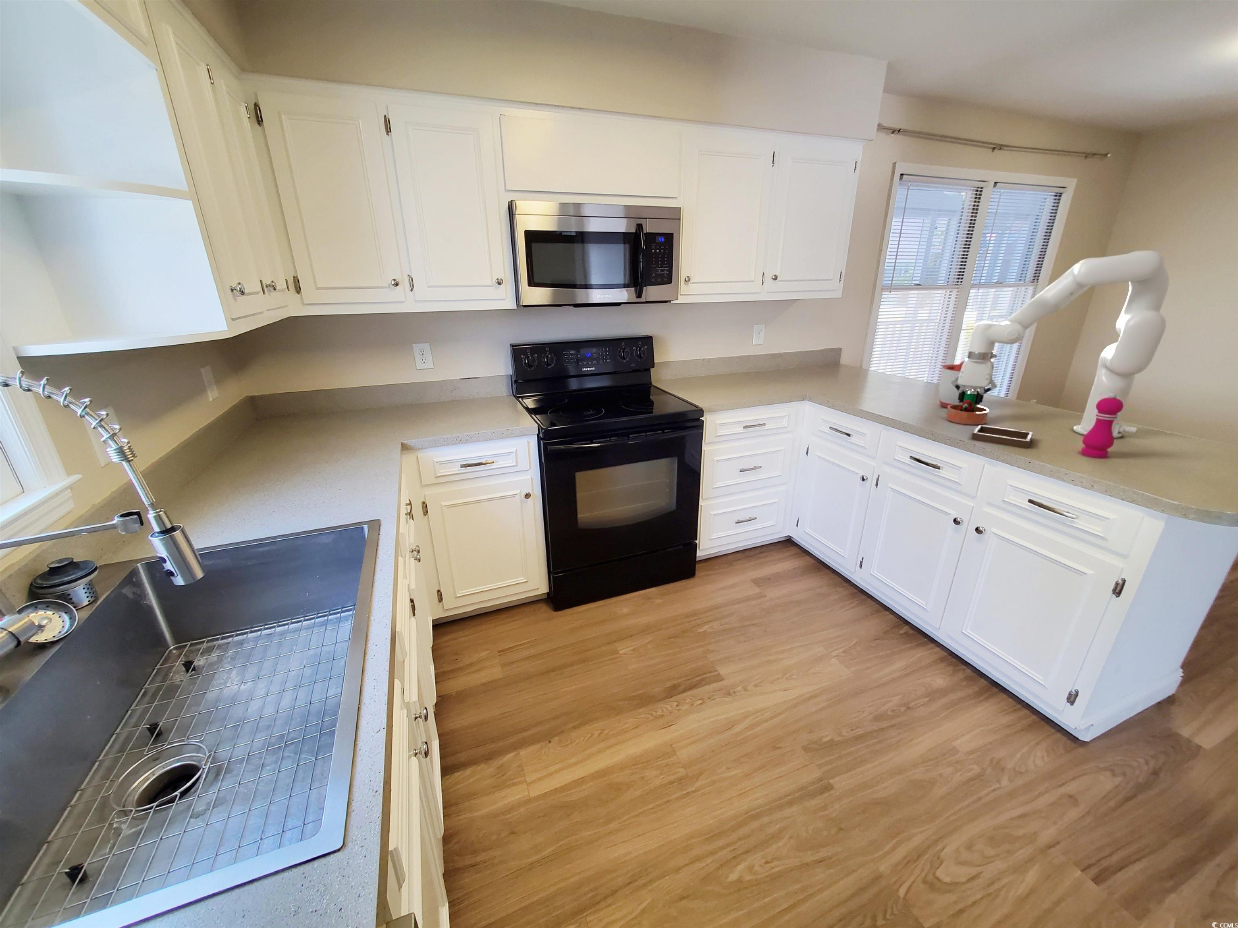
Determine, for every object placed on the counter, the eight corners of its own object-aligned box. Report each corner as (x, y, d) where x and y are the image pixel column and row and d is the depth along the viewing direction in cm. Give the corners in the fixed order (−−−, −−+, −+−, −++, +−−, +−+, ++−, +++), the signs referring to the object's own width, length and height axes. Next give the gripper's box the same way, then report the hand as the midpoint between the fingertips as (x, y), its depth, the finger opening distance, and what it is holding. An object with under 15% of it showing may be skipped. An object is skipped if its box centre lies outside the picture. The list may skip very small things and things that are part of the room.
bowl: (988, 419, 194) (991, 407, 193) (982, 427, 186) (985, 414, 184) (949, 414, 203) (952, 402, 201) (942, 421, 194) (944, 409, 192)
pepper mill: (1077, 449, 161) (1097, 389, 154) (1108, 453, 157) (1129, 391, 149) (1078, 455, 156) (1098, 393, 149) (1109, 460, 151) (1131, 396, 144)
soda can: (975, 421, 191) (982, 391, 187) (961, 421, 192) (967, 391, 188) (969, 418, 196) (976, 388, 192) (955, 417, 197) (962, 388, 193)
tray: (1031, 439, 171) (1033, 432, 170) (1026, 448, 164) (1029, 441, 163) (977, 431, 181) (979, 424, 180) (971, 439, 174) (972, 432, 173)
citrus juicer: (989, 407, 210) (1000, 360, 202) (960, 413, 204) (971, 364, 197) (953, 400, 223) (963, 355, 216) (926, 405, 217) (935, 359, 210)
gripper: (1009, 356, 182) (997, 404, 189) (955, 353, 193) (946, 398, 200) (1006, 359, 177) (994, 408, 184) (951, 355, 188) (941, 402, 195)
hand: (969, 402), depth 192 cm, fingers closed on soda can, 5 cm apart
